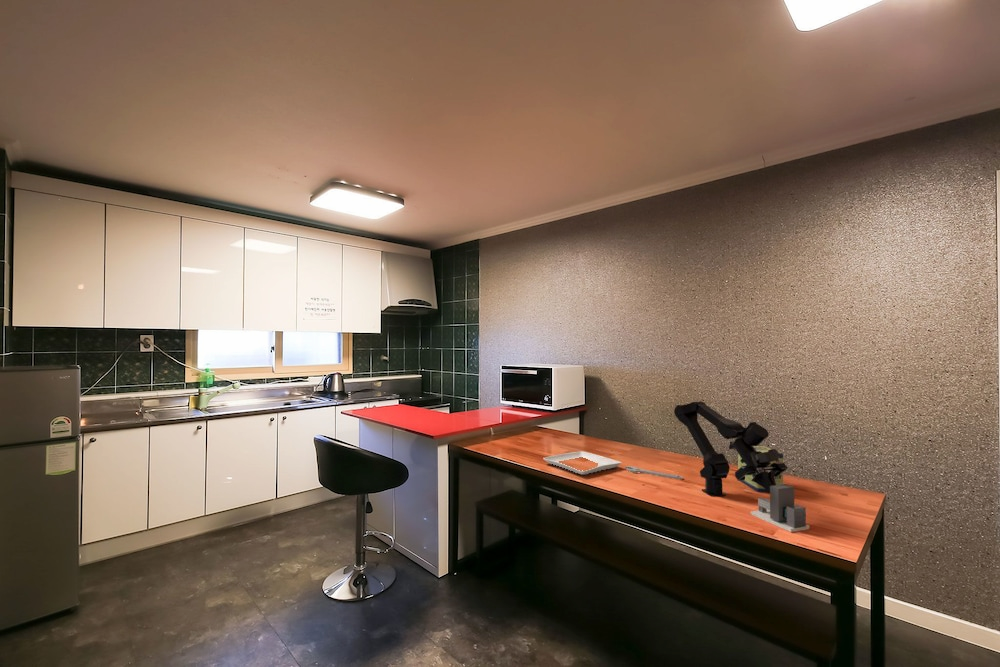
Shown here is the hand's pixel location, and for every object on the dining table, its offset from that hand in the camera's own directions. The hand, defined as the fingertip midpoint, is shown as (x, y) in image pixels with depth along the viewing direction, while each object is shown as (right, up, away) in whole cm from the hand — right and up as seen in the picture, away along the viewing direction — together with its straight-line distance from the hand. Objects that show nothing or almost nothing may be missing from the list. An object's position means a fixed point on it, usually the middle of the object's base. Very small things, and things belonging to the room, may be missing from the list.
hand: (777, 494), depth 140 cm
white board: (0, -9, -1) cm, 9 cm away
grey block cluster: (0, -8, -1) cm, 8 cm away
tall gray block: (0, -7, -2) cm, 8 cm away
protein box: (+16, -10, +35) cm, 40 cm away
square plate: (-54, -11, +61) cm, 82 cm away
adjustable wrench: (-24, -11, +49) cm, 56 cm away
